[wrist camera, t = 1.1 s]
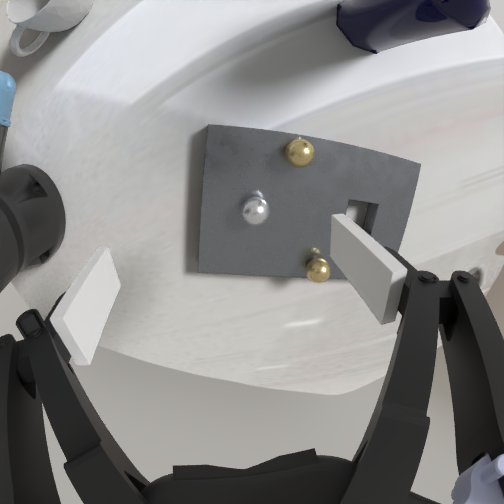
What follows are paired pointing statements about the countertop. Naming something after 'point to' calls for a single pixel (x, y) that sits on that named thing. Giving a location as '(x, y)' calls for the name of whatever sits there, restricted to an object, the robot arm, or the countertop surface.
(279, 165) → the plate
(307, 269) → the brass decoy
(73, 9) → the mug
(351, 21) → the bottle
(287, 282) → the countertop surface
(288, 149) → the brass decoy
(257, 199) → the steel ball
